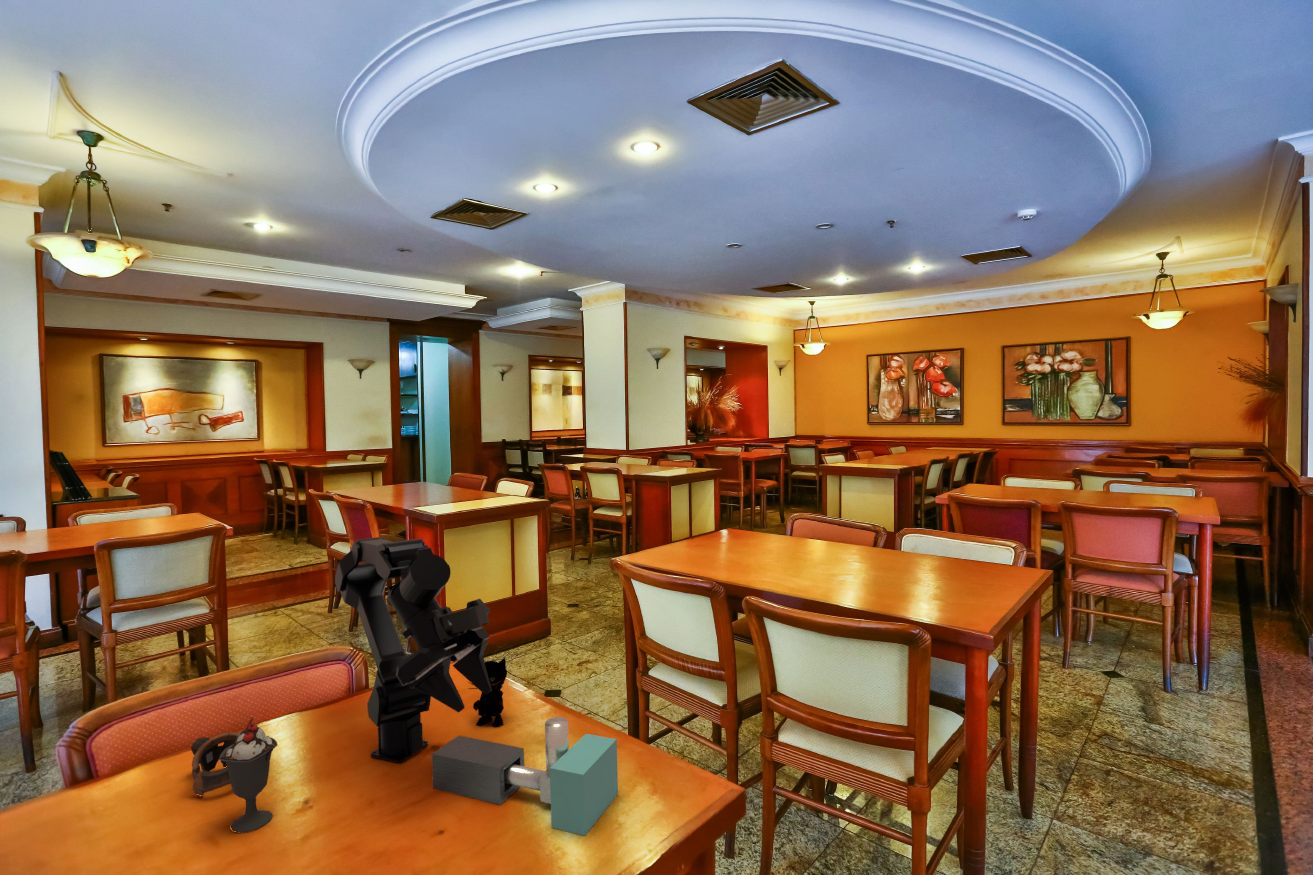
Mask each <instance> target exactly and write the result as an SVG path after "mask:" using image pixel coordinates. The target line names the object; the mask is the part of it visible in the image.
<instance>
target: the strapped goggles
mask: <svg viewBox="0 0 1313 875" xmlns="http://www.w3.org/2000/svg"><path fill="white" fill-rule="evenodd" d="M240 733H241V732H237V731H229V732H228V731H226V732H224V733H220V734H217V735H215V736H213V737H211V738H210V737H202V736H201V737H199V738H196V740H195V741H193V743H192V744H191V746H190V750H191V752H192V754H193V758H192V762H191V766H192V769H191V774H192V780H193V785H192V791H193V793H194V794H195V795H196V794H199V795H203V796H204V794H205V793H209V792H212V791H215V790H218V789H220V788H222V787H225V786H228V785H231V782H230V776H229V771H228V768H227V767H226V766H227V765H226V762H224V761H220V760H219V757H220V755H221V753H222V752H223V751H224V750H225V749H226V748H227V747H229V746H231V745H233V744H234V743H235V741H236V740H237V737H238V735H239V734H240ZM222 743H223V744H222ZM221 744H222V745H221ZM219 761H220V763H221V764H222V768H221V769H218V770H215V768H216V767H217V764H218V762H219ZM223 767H226V768H223ZM200 771H201V772H200Z"/></svg>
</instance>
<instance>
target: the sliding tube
mask: <svg viewBox="0 0 1313 875" xmlns="http://www.w3.org/2000/svg"><path fill="white" fill-rule="evenodd" d="M544 733H545V734H544V736H545V737H544V739H545V742H544V743H545V770H543V769H538V768H535V767H534V768H533V767H530V766H525V765H524V766H520V765H515V764H511V765H510V766H509V767H507V768H506V769H505V770H504V783H506V784H510V785H515V786H519V787H520V788H525V789H528V790H534V791H538V792H540V793H539V796H540V802H541V803H546V804H550V805H551V793H550V767H551V766H552V765H553V764H554V763H556V762H557V761H558V760H559V759H560V758H561V757H562V756H563V755H564V754H565V753H566V752H567V751H568V750H569V749H570V748H569V746H570V744H569V720H568V719H567V718H566V717H562V716H557V717H556V716H555V717H550V718H548V719H547V720H546V721H545V722H544Z"/></svg>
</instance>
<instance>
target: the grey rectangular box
mask: <svg viewBox="0 0 1313 875" xmlns="http://www.w3.org/2000/svg"><path fill="white" fill-rule="evenodd" d="M431 762H432V763H431V764H432V768H431V769H432V789H433V790H436V791H441V792H444V793H449V794H454V795H458V796H462V797H466V798H470V799H475V800H478V801H483V802H486V803H492V804H495V805H500V806H501V805H502V804H503V803H505V801H506V800H508V799H509V798H510V797H511V796H512V795H513V794H515V792H516V791H517V790H518V789H520V788H521V787H519V786H515V785H510V784H506V783H504V770H505V769H506V768H507V767H509V766H510V765H511V764H515V765H520V766H525V748H524V747H519V746H514V745H510V744H505V743H499V742H494V741H490V740H489V741H488V740H483V739H480V738H479V739H478V738H473V737H469V736H464V735H457V736H456V737H454V738H453V739H452V740H450V741H449V742H447V743H446V744H444V745H442V746H441V747H440V748H438V749H437V750H435V751H434V752H433V753H431Z"/></svg>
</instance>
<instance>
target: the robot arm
mask: <svg viewBox="0 0 1313 875" xmlns="http://www.w3.org/2000/svg"><path fill="white" fill-rule="evenodd" d="M432 550H433V549H432V548H431V546H430V547H429V546H428V545H427V544H426V543H425V542H424V540H423V539H422V538H415V539H414V538H413V539H408V540H407V539H406V540H397V541H392V540H386V539H385V538H383V537H379V536H378V537H377V536H376V537H375V536H374V537H370V538H368V537H367V538H360V539H357V540H356V541H353V542H352V545H351V549H350V551H349V552H347V553H346V554H345V555H344V556H343V557H342V558H341V559H340V560H339V562H338V564H337V567H336V572H335V589H336V591H337V592H338V593H339V592H340V595H341V598H342V600H343V602H344V603H345V604H346V605H348V606H349V607H351V608H353V609H355V610H356V611H357V613H358V615H359V619H360V621H361V622H360V623H361V624H362V627H363V630H364V633H365V636H366V639H367V642H368V645H369V648H370V651H371V654H372V656H373V657H372V658H373V660H374V663H375V665H376V668H377V671H376V674H375V680H374V684H373V688H372V691H371V693H370V696H369V698H368V701H367V703H366V706H367V716H368V718H369V719H370V721H371V722H372V723H373V724H374V725H375V726H376V727H377V740H378V742H377V744H378V746H377V747H378V748H376V750H374V751H372V752H371V753H370V755H371V757H372V758H377V759H380V760H384V761H389V762H395V763H399V764H401V763H404V762H405V761H407V760H408V759H410V758H411V757H413V756H414V755H415V754H416V753H418V752H420V751H422V750H424V749H425V748H426V747H428V746H429V742H428V741H427V740H424V738H423V737H424V736H423V723H422V720H421V719H422V718H421V713H423V712H428V711H430V706H431V700H432V699H431V698H433V699H435V700H436V701H438V702H439V703H441V704H443V705H445V706H447V707H448V708H449V709H450V708H451V710H453V711H455V712H457V713H461V711H463V710H464V709H465V707H466V706H465V705H464V701H463V699H462V696H461V695H460V692H459V691H458V689H457V686H456V685H455V682H454V680H453V677H452V676H451V674H450V667H451V662H453V663H454V664H452V667H453V668H454V669H455V670H456V671H458V672H459V673H460V674H461V675H462V676H463V677H464V678H465V679H467V681H468V682H469V683H472V684H473V686H474V688H478V689H477V690H479V691H480V692H481V693H482V692H483V693H484V694H485V695H486V694H488V693H489V692H491V686H490V682H489V678H488V674H487V670H486V666H485V662H486V661H485V658H484V657H485V656H484V654H485V651H486V647H487V646H488V644H489V641H488V639H490V637H491V636H490V634H489V633H488V632H487V630H486V628H485V625H488V624H490V621H489V614H490V613H491V608H490V607H488V606H487V603H486V602H483V600H482V599H481V598H477V599H474V600H470V601H467V603H466V608H465V609H461V610H458V611H453V610H452V609H451V607H450V606H449V607H448V606H443V607H441V606H442V605H440V603H439V602H438V600H437V597H438V595H439V594H441V591H442V590H443V589H444V587H445V586H446V585H447V583H448V582H449V580H450V577H451V573H452V572H451V566H450V565H449V563H448V562H447V561H446V560H445V559H444V558H443V557H442V556H440V555H438V554H435V553H434V552H433V551H432ZM360 562H361V563H360ZM399 578H400V580H399V581H398V582H396V583H395V584H393V585H391V586H389V587H387V591H388V593H387V597H386V601H385V598H384V594H385V591H386V590H385V589H386V585H387V583H388V582H387V581H388V580H392V579H399ZM387 605H388V606H391V605H392V607H393V609H394V611H395V612H396V614H397V616H398V617H399V618H400V620H401V622H402V623H403V625H404V627H405V629H406V630H405V631H403V632H402V635H403V636H404V638H405V640H406V639H410V638H412V640H413V642H414V643H415V645H416V646H417V648H418V649H417V650H416V651H415V652H413V653H410V654H406V652H405V650H404V648H403V645H402V642H401V639H400V637H399V635H398V632H397V630H396V627H395V624H394V621H393V618H392V616H391V613H390V611H389V609H388V606H387ZM483 626H484V627H483ZM472 684H471V685H472Z"/></svg>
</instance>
